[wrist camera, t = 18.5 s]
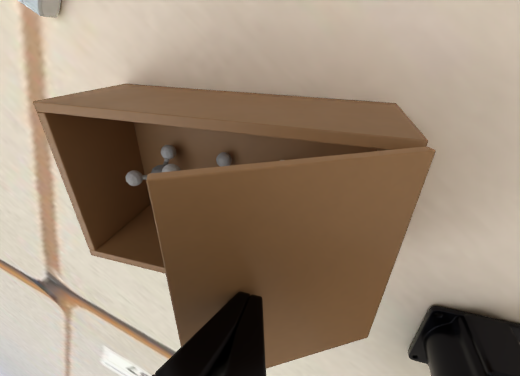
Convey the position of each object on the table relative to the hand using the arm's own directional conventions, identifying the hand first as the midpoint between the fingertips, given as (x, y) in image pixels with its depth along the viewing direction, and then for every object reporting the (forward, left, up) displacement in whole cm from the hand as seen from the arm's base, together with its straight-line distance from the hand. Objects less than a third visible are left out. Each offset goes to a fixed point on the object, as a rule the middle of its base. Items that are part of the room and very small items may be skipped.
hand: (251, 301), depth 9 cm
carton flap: (0, -1, -1) cm, 2 cm away
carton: (0, +4, -11) cm, 11 cm away
